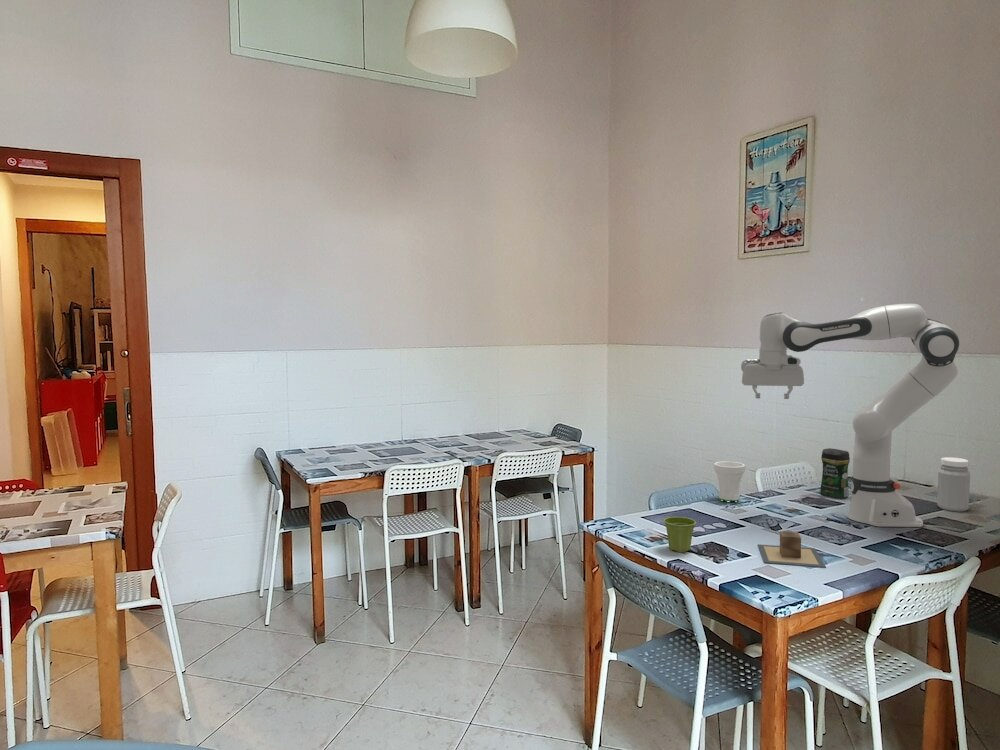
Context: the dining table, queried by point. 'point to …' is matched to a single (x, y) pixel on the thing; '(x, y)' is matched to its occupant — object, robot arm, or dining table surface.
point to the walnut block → (790, 544)
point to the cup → (729, 479)
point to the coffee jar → (835, 473)
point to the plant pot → (679, 533)
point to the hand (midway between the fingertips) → (772, 398)
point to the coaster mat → (807, 558)
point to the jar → (953, 484)
